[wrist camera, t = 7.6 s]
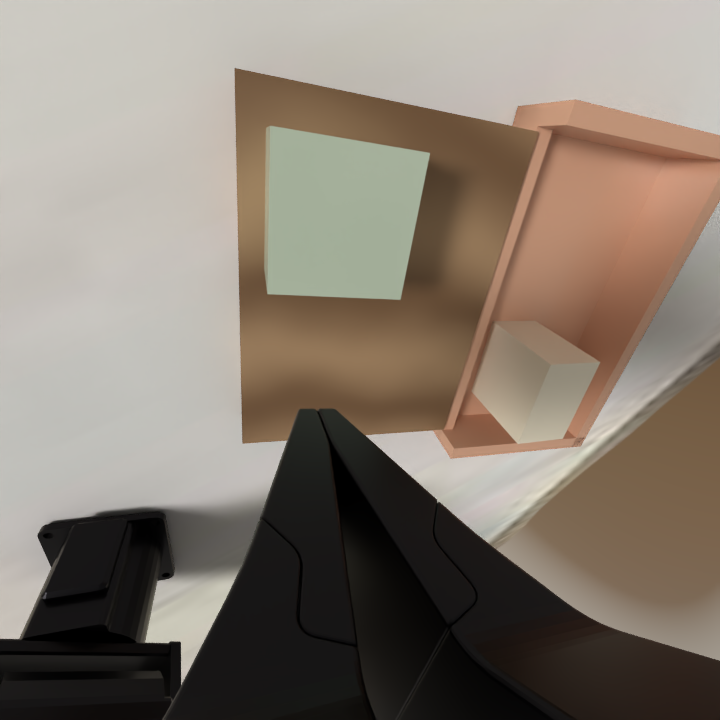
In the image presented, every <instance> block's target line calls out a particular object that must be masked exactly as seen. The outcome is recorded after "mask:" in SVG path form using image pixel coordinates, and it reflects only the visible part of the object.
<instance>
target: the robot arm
mask: <svg viewBox="0 0 720 720" xmlns="http://www.w3.org/2000/svg"><path fill="white" fill-rule="evenodd" d="M38 539H39V541H40V543H41V545H42V548H43V550H44V552H45V554H46V557H47V559H48V561H49V563H50V566H51V570H50V573H49V575H48V577H47V579H46V581H45V584H44V586H43V588H42V590H41V592H40V594H39V597H38V599H37V601H36V603H35V605H34V608H33V610H32V612H31V614H30V616H29V619H28V621H27V623H26V625H25V627H24V630H23V632H22V634H21V636H20V638H19V639H0V720H720V661H719V660H715V659H712V658H709V657H705V656H702V655H699V654H695V653H692V652H689V651H685V650H682V649H679V648H675V647H672V646H669V645H665V644H662V643H658V642H655V641H652V640H648V639H645V638H641V637H638V636H635V635H632V634H628V633H625V632H622V631H619V630H616V629H613V628H610V627H608V626H606V625H603V624H601V623H599V622H597V621H595V620H593V619H591V618H589V617H588V616H586V615H584V614H583V613H581V612H579V611H578V610H576V609H575V608H573V607H572V606H570V605H569V604H567V603H566V602H565V601H563V600H562V599H561V598H559V597H558V596H556V595H555V594H554V593H553V592H551V591H550V590H549V589H547V588H546V587H545V586H544V585H542V584H541V583H540V582H538V581H537V580H536V579H534V578H533V577H532V576H530V575H529V574H528V573H526V572H525V571H524V570H522V569H521V568H520V567H518V566H517V565H516V564H514V563H513V562H512V561H510V560H509V559H508V558H507V557H505V556H504V555H503V554H501V553H500V552H499V551H497V550H496V549H495V548H494V547H492V546H491V545H490V544H489V543H487V542H486V541H485V540H483V539H482V538H481V537H480V536H478V535H477V534H476V533H475V532H473V531H472V530H471V529H470V528H469V527H468V526H466V525H465V524H464V523H463V522H462V521H461V520H459V519H458V518H457V517H456V516H455V515H454V514H452V513H451V512H450V511H449V510H448V509H447V508H446V507H445V506H444V505H442V504H441V503H440V502H438V503H437V499H436V498H434V497H433V496H432V495H431V494H430V493H429V492H428V491H427V490H425V489H424V488H423V487H422V486H421V485H420V484H419V483H418V482H417V481H415V480H414V479H413V478H412V477H411V476H410V475H409V474H408V473H406V472H405V471H404V470H403V469H402V468H401V467H400V466H399V465H398V464H396V463H395V462H394V461H393V460H392V459H391V458H390V457H389V456H387V455H386V454H385V453H384V452H383V451H382V450H381V449H380V448H379V447H377V446H376V445H375V444H374V443H373V442H372V441H371V440H370V439H369V438H367V437H366V436H365V435H364V434H363V433H362V432H361V431H360V430H358V429H357V428H356V427H355V426H354V425H353V424H352V423H351V422H350V421H348V420H347V419H346V418H345V417H344V416H343V415H342V414H341V413H339V412H338V411H337V410H336V409H334V408H320V409H318V410H316V409H314V408H308V409H299V410H298V412H297V415H296V417H295V420H294V423H293V426H292V429H291V432H290V435H289V437H288V440H287V443H286V446H285V449H284V452H283V454H282V457H281V460H280V463H279V466H278V469H277V471H276V474H275V477H274V480H273V483H272V486H271V488H270V491H269V494H268V497H267V500H266V503H265V505H264V508H263V511H262V514H261V517H260V521H259V522H258V524H257V527H256V530H255V533H254V536H253V539H252V541H251V544H250V546H249V549H248V551H247V554H246V556H245V559H244V561H243V564H242V566H241V568H240V570H239V573H238V575H237V577H236V579H235V581H234V583H233V585H232V587H231V589H230V592H229V594H228V596H227V598H226V600H225V602H224V604H223V606H222V608H221V610H220V611H219V613H218V615H217V617H216V619H215V621H214V623H213V625H212V627H211V629H210V631H209V633H208V635H207V637H206V639H205V641H204V643H203V644H202V646H201V648H200V650H199V652H198V654H197V656H196V658H195V660H194V662H193V664H192V666H191V668H190V670H189V672H188V674H187V675H186V677H185V679H184V681H183V683H182V685H181V642H174V641H170V642H169V643H145V640H146V635H147V630H148V625H149V620H150V615H151V610H152V605H153V600H154V595H155V590H156V585H157V581H159V580H165V579H169V578H171V577H172V576H173V575H174V569H175V567H174V561H173V556H172V550H171V544H170V539H169V533H168V527H167V522H166V516H165V514H163V513H161V512H152V513H143V514H134V515H125V516H116V517H107V518H99V519H90V520H81V521H72V522H63V523H54V524H47V525H44V526H43V527H42V528H41V529H40V531H39V533H38Z"/></svg>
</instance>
